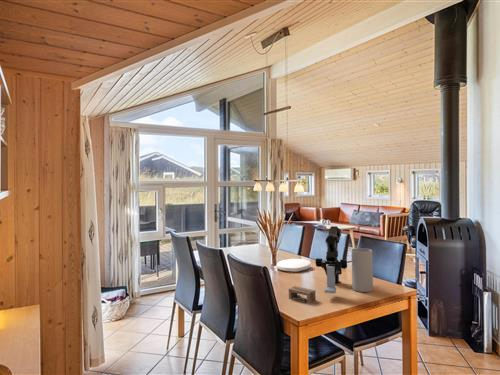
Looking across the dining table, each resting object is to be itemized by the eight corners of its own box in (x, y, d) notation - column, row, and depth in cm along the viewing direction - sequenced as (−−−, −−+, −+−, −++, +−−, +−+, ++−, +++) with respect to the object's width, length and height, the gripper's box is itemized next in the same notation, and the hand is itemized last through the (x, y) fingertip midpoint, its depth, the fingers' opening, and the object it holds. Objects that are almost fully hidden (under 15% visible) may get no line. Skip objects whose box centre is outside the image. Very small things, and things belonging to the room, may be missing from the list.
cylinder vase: (364, 285, 221) (363, 247, 221) (377, 291, 209) (376, 250, 209) (348, 288, 217) (347, 249, 216) (360, 293, 205) (360, 252, 205)
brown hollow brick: (295, 294, 206) (295, 286, 205) (315, 299, 196) (315, 290, 196) (288, 298, 200) (288, 288, 200) (309, 303, 191) (309, 293, 191)
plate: (298, 268, 250) (269, 264, 267) (299, 277, 251) (270, 272, 268) (316, 257, 272) (288, 254, 288) (317, 265, 272) (289, 261, 289)
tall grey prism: (326, 286, 206) (325, 265, 206) (336, 287, 204) (336, 266, 204) (324, 292, 195) (324, 270, 195) (335, 293, 194) (334, 270, 193)
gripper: (315, 245, 209) (313, 267, 199) (346, 246, 204) (346, 269, 193) (317, 255, 217) (315, 277, 207) (347, 256, 211) (347, 279, 201)
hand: (330, 275), depth 202 cm, fingers closed on tall grey prism, 4 cm apart
